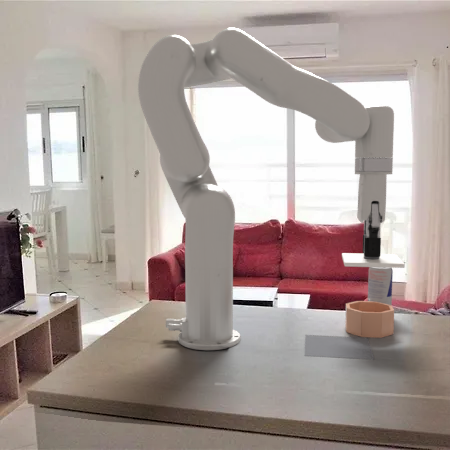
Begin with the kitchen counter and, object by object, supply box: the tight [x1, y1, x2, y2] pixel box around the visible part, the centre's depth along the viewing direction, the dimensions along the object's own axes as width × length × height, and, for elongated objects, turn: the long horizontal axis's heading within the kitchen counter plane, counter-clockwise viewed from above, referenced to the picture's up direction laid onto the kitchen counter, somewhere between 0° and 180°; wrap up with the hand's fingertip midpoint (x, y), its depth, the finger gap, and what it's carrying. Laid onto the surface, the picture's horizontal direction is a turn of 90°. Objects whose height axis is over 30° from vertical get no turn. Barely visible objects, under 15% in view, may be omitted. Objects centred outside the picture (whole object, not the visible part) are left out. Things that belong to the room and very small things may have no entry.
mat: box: [304, 334, 375, 361], centre depth 108 cm, size 13×13×1 cm
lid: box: [341, 233, 405, 269], centre depth 116 cm, size 12×12×6 cm
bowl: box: [344, 300, 395, 339], centre depth 118 cm, size 10×10×6 cm
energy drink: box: [367, 267, 394, 306], centre depth 129 cm, size 5×5×12 cm
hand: (371, 254), depth 116 cm, fingers closed on lid, 3 cm apart
